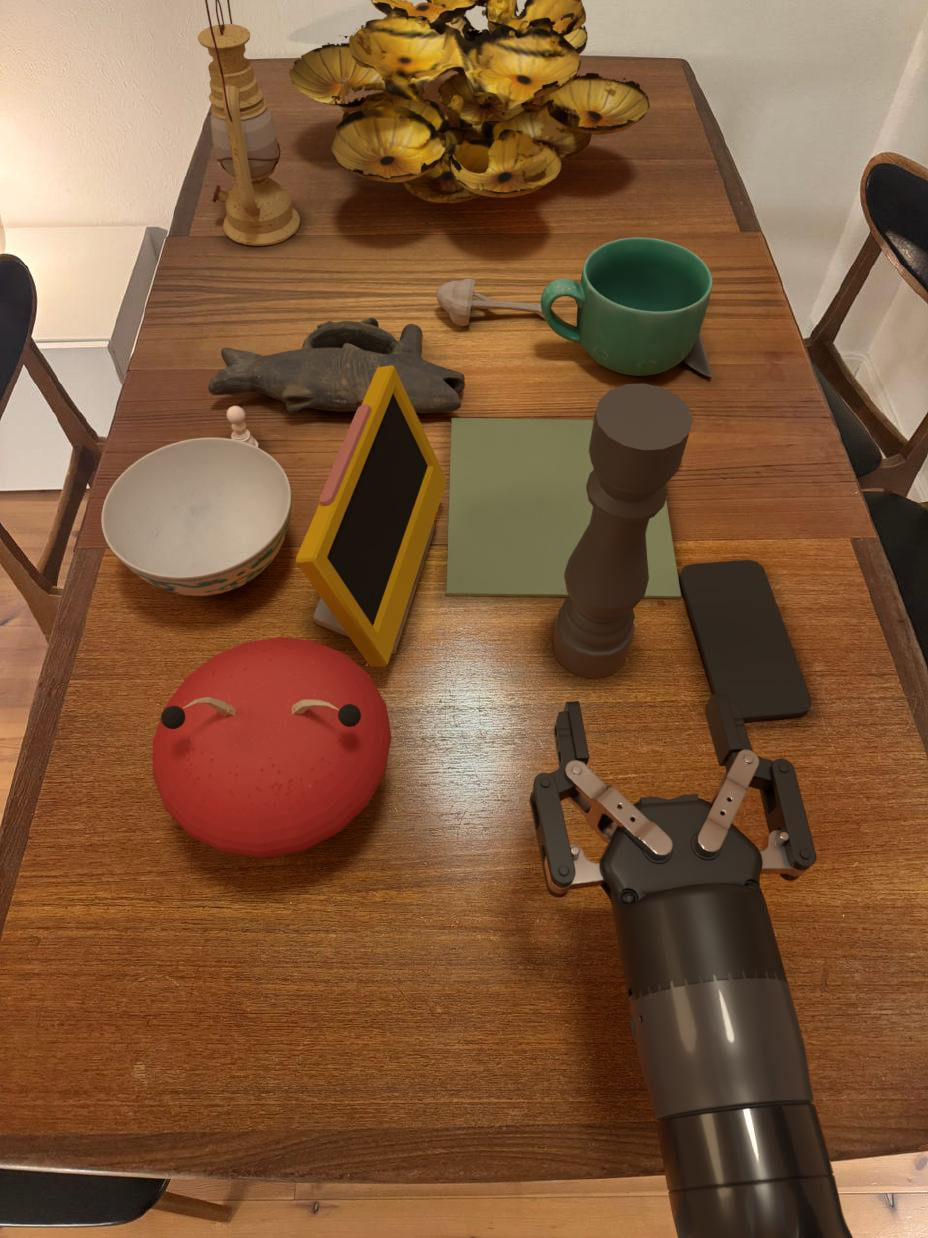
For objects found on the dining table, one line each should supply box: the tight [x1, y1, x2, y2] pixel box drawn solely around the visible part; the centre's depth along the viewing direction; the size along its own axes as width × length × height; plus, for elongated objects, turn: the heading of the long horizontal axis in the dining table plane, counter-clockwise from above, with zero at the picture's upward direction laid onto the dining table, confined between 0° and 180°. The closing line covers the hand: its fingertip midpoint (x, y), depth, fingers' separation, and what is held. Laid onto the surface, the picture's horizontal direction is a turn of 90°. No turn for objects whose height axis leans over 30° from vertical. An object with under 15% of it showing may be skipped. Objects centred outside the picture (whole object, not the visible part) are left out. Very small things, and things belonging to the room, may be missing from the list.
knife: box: [682, 331, 713, 379], centre depth 94 cm, size 14×4×1 cm, turn 1°
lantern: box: [197, 0, 301, 247], centre depth 94 cm, size 12×10×30 cm
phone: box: [679, 559, 812, 722], centre depth 72 cm, size 7×1×15 cm
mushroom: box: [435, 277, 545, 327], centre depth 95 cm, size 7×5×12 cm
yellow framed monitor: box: [295, 365, 448, 668], centre depth 69 cm, size 20×8×16 cm, turn 167°
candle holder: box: [552, 383, 694, 680], centre depth 61 cm, size 6×6×25 cm
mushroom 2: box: [152, 636, 393, 859], centre depth 58 cm, size 16×16×15 cm
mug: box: [540, 236, 714, 377], centre depth 89 cm, size 17×13×10 cm
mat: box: [445, 417, 682, 600], centre depth 80 cm, size 20×22×1 cm
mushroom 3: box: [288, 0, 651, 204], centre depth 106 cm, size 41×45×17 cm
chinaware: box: [100, 437, 293, 597], centre depth 73 cm, size 15×15×8 cm
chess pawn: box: [225, 405, 259, 448], centre depth 82 cm, size 3×3×5 cm
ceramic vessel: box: [207, 317, 466, 414], centre depth 88 cm, size 5×25×15 cm
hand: (642, 703), depth 51 cm, fingers open, 8 cm apart
